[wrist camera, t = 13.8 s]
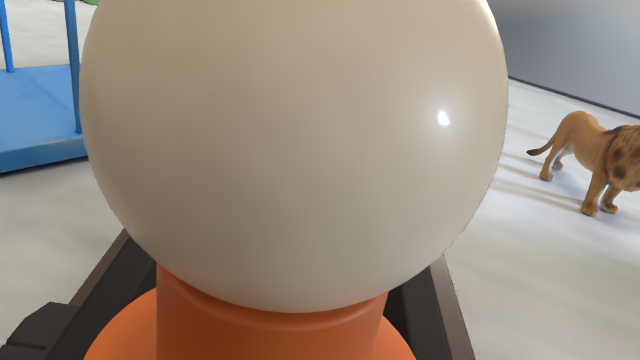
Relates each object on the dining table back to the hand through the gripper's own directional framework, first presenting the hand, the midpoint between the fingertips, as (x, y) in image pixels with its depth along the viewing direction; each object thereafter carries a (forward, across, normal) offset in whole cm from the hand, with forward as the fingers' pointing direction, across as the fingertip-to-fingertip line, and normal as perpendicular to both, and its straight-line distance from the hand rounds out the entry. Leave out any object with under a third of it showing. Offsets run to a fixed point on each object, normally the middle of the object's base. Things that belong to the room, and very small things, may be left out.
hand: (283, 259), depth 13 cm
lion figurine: (+30, +26, -10) cm, 41 cm away
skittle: (-5, 0, -10) cm, 11 cm away
